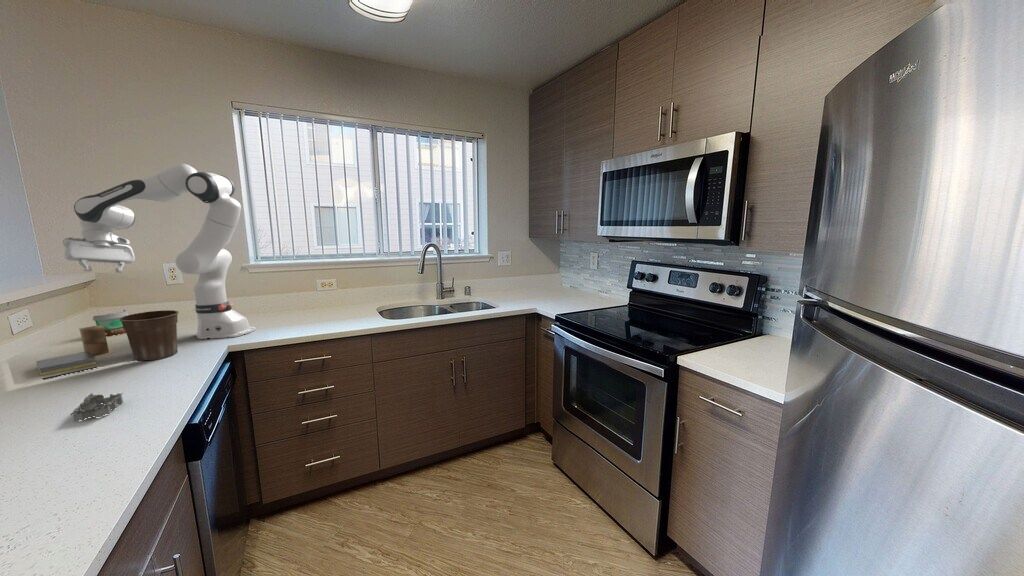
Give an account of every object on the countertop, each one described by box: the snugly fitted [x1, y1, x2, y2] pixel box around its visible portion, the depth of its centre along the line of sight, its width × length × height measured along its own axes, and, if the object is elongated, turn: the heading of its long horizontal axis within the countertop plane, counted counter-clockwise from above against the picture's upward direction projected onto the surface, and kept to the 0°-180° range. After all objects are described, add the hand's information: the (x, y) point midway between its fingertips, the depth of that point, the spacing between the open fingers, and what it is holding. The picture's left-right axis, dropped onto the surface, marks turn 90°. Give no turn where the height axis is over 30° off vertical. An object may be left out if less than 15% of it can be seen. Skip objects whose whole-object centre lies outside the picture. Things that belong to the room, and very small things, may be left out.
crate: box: [78, 325, 110, 357], centre depth 143 cm, size 6×6×10 cm
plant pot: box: [119, 309, 180, 362], centre depth 143 cm, size 16×16×16 cm
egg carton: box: [70, 392, 124, 422], centre depth 101 cm, size 11×8×4 cm
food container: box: [92, 309, 130, 337], centre depth 174 cm, size 12×6×10 cm, turn 168°
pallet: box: [94, 348, 115, 357], centre depth 144 cm, size 8×8×2 cm
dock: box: [35, 351, 97, 381], centre depth 130 cm, size 12×12×4 cm
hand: (104, 271), depth 156 cm, fingers open, 8 cm apart
